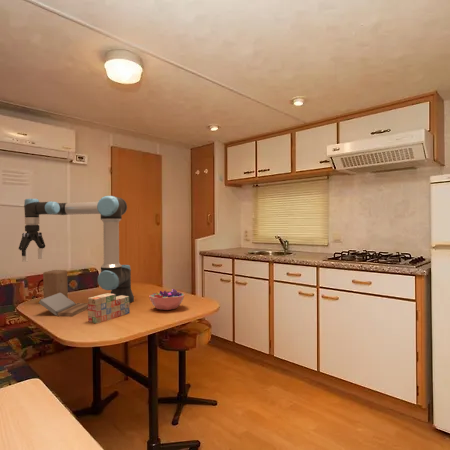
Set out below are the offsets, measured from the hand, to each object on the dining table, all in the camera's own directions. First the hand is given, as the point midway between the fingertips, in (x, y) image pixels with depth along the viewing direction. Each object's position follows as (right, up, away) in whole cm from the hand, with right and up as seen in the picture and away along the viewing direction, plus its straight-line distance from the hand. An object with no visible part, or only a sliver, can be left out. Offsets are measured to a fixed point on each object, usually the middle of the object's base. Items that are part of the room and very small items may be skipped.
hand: (32, 260), depth 195 cm
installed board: (+31, -27, -13) cm, 43 cm away
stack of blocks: (+55, -27, -25) cm, 66 cm away
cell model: (+82, -27, -11) cm, 87 cm away
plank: (+21, -24, -12) cm, 34 cm away
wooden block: (+10, -28, +8) cm, 30 cm away
